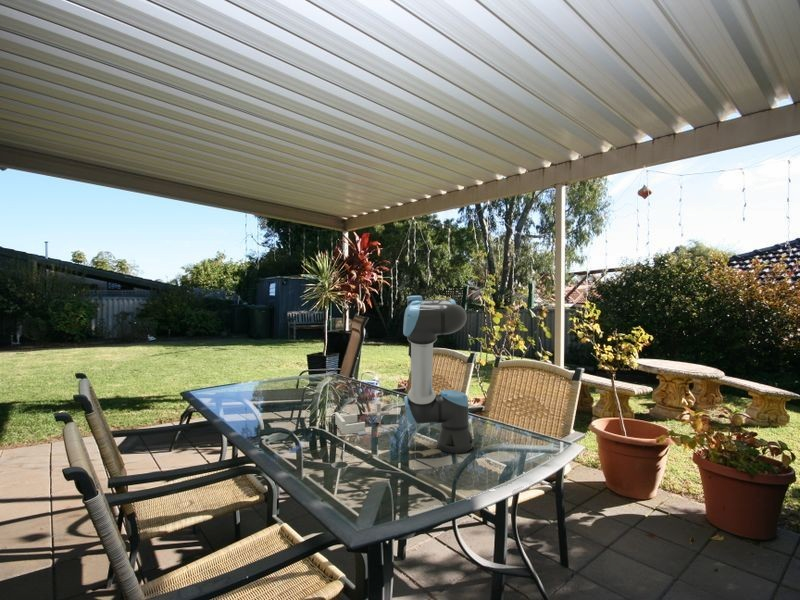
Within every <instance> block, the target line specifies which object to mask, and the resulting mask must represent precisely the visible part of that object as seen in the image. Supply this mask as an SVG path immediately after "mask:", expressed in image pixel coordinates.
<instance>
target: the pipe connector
mask: <svg viewBox="0 0 800 600" xmlns="http://www.w3.org/2000/svg"><path fill="white" fill-rule="evenodd" d="M381 407H382V406H381V403H380V402H378V403H376V410H375V411H368V416H375V417H376V418H377V420H376V421H377V423H381V424H382V416H389V415H390V411H389V410H383V411H382V408H381Z"/></svg>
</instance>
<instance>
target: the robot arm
mask: <svg viewBox="0 0 800 600" xmlns="http://www.w3.org/2000/svg"><path fill="white" fill-rule="evenodd" d="M406 303H407V307H406V308H405V310H404V316H403V325H402V326H403V328H402V329H403V331H402V332H403V335H404V336H405V337H406V338H407V341H408V357H409V358H410V372H411V375H410V378H411V380H410V381H411V385H410V386H411V387H410V389H409V391H408V392H407V395H405V396H404V397H403V398H404V407H405V414H406V419H407V422H408V423H409V424H412V425H413V424H414V425H420V424H440V431H439V434H438V438H437V440H436V441H437V442H436V443H437V449H439V450H440V451H442V452H446V453H451V454H462V453H467V451H468V452H470V451H471V450H470V449H471V448H472V447H473V448H474V440H473V437H472V434H471V431H470V427H469V426H470V425H469V423H470V422H469V406H470V405H469V404H470V403H469V397H468V395H467V394H466V393H464V392H462V391H459V390H454V389H442V390H440V392H439V394H436V391H435V390H434V389H433V375H434V373H433V371H434V370H433V367H434V365H433V364H434V363H433V362H434V343H436V341H437V339H438V336H441V335H451V334H454V333H456V332H458V331H460V330H461V329H462V328H464V326H465V325H466V322H467V319H468V318H467V317H468V315H467V311H466V310H465V308H463V307H462V306H461V305H459V304H457V302H456V300H455V299H447V298H446V299H423V296H422V295H408V296H407V301H406ZM469 450H470V451H469Z"/></svg>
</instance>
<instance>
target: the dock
mask: <svg viewBox="0 0 800 600" xmlns="http://www.w3.org/2000/svg"><path fill="white" fill-rule="evenodd" d="M334 414H335V415H334V416H335V418H334V419H335V426H336V425H337V426H336V427H337V429H338V428H339V429H338V430H339V432H340V431H341V432H340V433H341V435H348V434H357V435H358V437H359V436H360V437H361V436H366V435H368V432H367V431H366V422H365V421H360V422H358V421H359V420H358V414H357V413H351V414H344V415H341V414H340V413H339V411H336V412H334Z"/></svg>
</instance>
